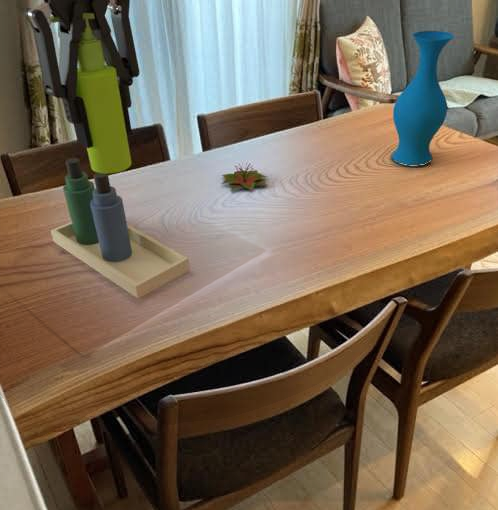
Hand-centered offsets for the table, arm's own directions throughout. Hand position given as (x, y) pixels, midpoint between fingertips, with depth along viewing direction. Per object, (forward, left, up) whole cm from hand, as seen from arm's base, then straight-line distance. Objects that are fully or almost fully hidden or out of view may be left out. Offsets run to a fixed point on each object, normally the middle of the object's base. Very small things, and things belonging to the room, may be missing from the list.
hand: (105, 138), depth 77 cm
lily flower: (-16, +43, -27) cm, 53 cm away
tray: (-11, +4, -27) cm, 29 cm away
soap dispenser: (0, -1, -4) cm, 4 cm away
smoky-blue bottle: (-11, +4, -26) cm, 29 cm away
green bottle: (-20, +4, -26) cm, 33 cm away
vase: (+6, +80, -27) cm, 85 cm away
